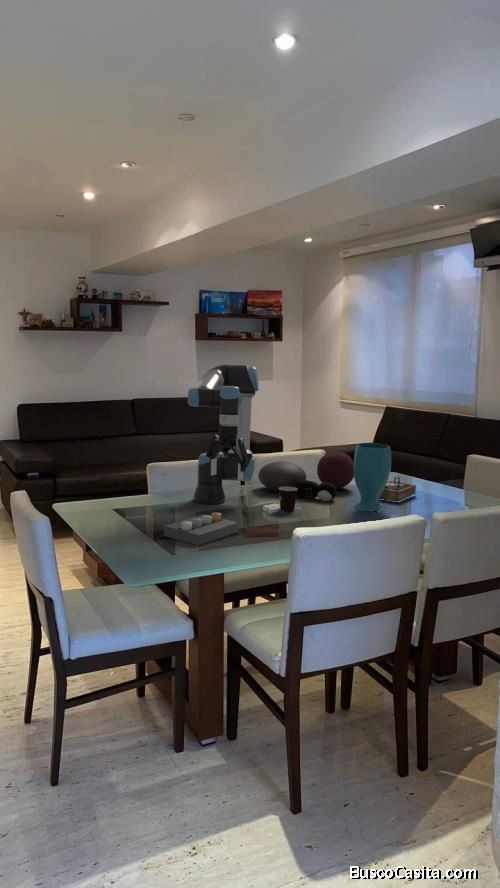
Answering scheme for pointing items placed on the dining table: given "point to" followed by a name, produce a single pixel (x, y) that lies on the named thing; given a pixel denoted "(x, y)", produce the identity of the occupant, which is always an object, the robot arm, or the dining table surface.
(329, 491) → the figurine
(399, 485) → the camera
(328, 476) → the decorative sphere
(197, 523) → the button slate
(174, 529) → the console
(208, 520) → the button sage
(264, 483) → the smooth stone
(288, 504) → the coffee mug
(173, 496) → the dining table surface
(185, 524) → the button ivory
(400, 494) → the camera caddy
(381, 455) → the vase
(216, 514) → the button terracotta
